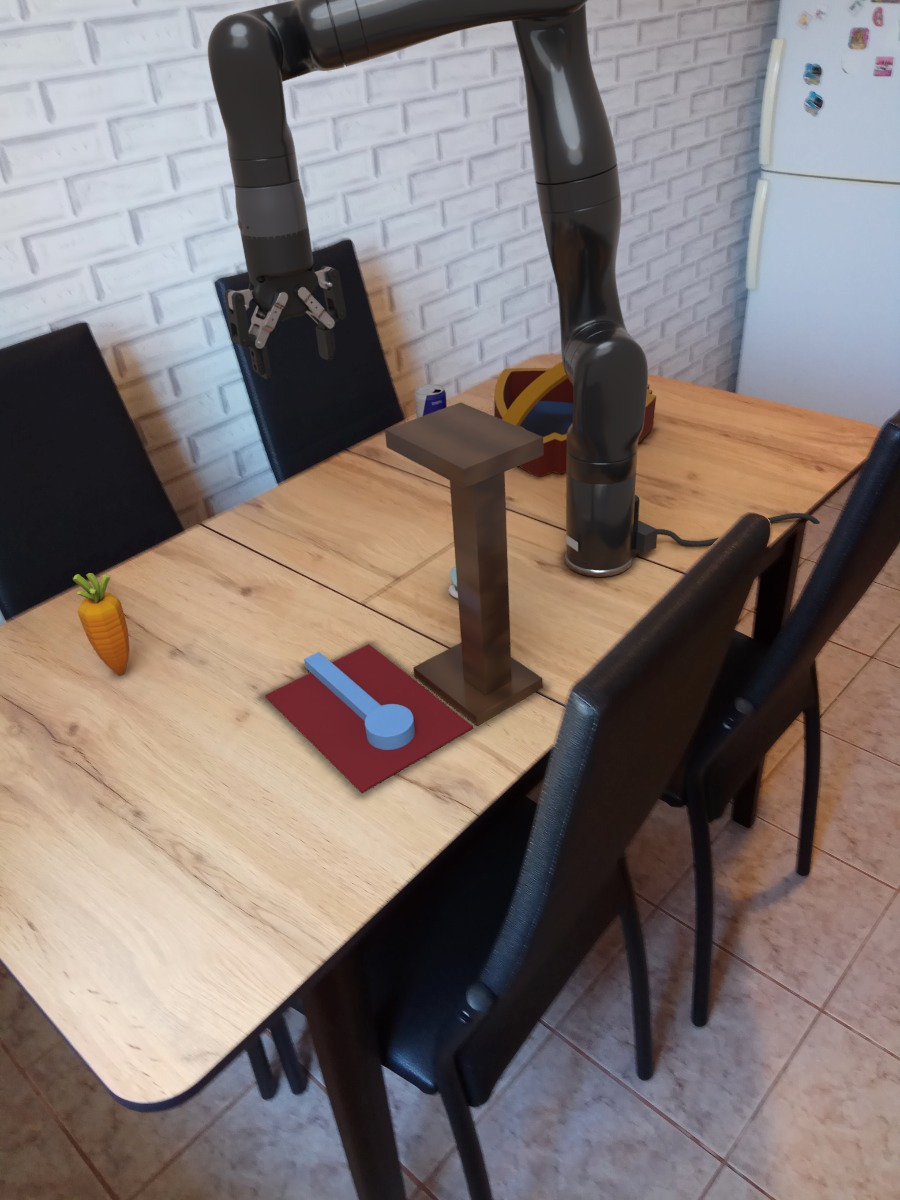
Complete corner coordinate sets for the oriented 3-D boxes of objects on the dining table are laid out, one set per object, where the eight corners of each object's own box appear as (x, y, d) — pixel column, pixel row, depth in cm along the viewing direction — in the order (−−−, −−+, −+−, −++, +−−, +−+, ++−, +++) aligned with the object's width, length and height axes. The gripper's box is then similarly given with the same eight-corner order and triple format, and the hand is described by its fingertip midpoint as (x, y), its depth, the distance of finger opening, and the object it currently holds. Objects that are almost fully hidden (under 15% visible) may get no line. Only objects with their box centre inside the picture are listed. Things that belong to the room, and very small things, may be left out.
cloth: (369, 645, 118) (369, 643, 118) (473, 728, 104) (473, 726, 104) (265, 697, 111) (264, 695, 111) (361, 793, 97) (361, 791, 96)
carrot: (149, 665, 118) (118, 564, 109) (126, 689, 114) (92, 587, 105) (117, 659, 119) (84, 559, 111) (92, 683, 115) (56, 581, 107)
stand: (475, 641, 117) (460, 402, 100) (545, 690, 109) (543, 436, 91) (411, 674, 113) (384, 429, 95) (479, 728, 104) (463, 469, 86)
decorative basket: (556, 504, 151) (568, 422, 141) (437, 432, 167) (440, 354, 157) (682, 440, 169) (700, 363, 159) (564, 381, 185) (574, 308, 175)
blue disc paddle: (331, 655, 116) (329, 642, 115) (424, 734, 103) (423, 721, 102) (294, 673, 114) (291, 660, 113) (384, 757, 101) (382, 743, 99)
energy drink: (446, 461, 162) (441, 395, 155) (416, 460, 163) (410, 394, 156) (452, 448, 166) (448, 383, 159) (423, 447, 167) (418, 383, 160)
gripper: (231, 243, 97) (259, 391, 106) (346, 218, 104) (363, 359, 113) (200, 233, 102) (229, 375, 111) (311, 209, 109) (330, 345, 118)
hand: (296, 367), depth 112 cm, fingers open, 8 cm apart
